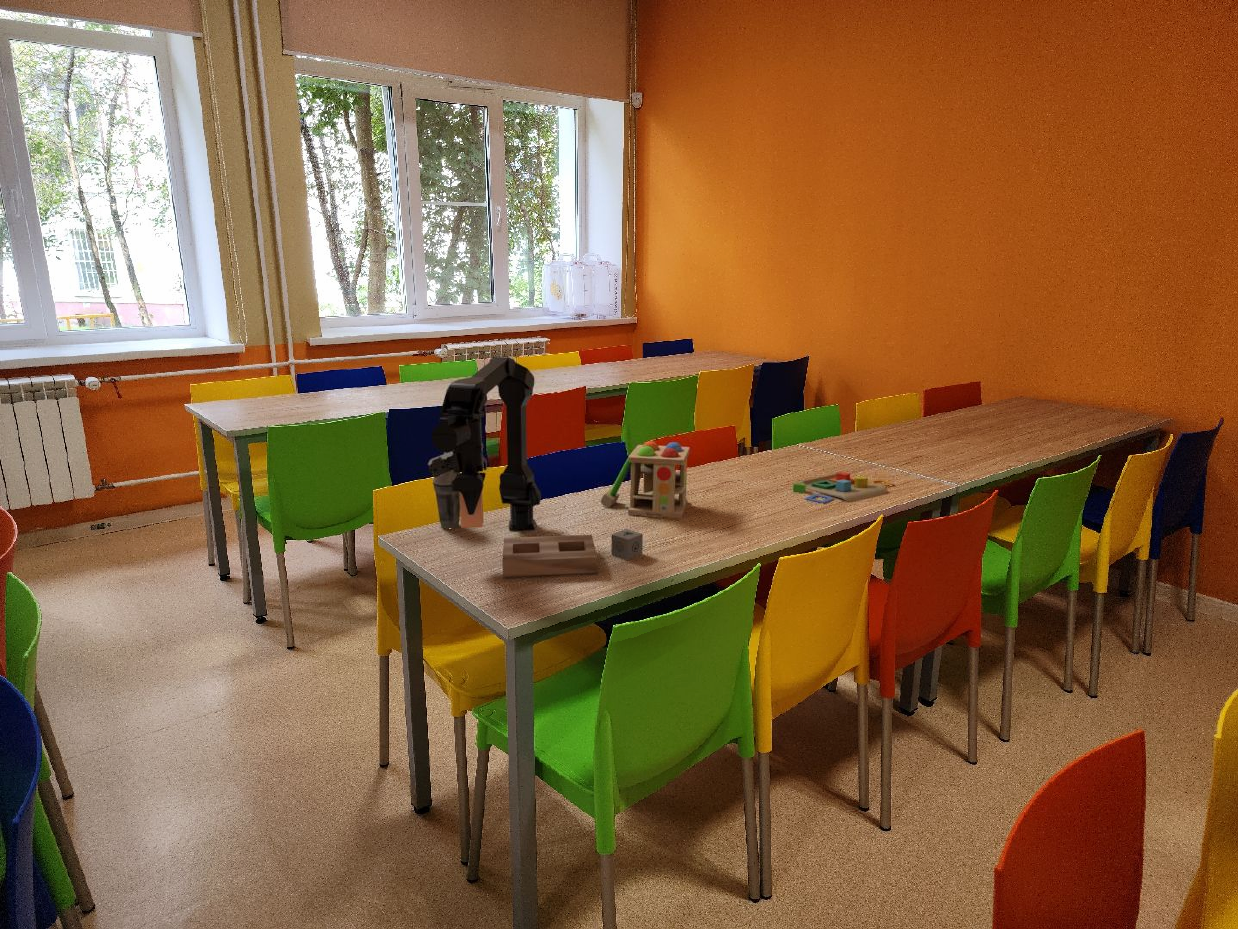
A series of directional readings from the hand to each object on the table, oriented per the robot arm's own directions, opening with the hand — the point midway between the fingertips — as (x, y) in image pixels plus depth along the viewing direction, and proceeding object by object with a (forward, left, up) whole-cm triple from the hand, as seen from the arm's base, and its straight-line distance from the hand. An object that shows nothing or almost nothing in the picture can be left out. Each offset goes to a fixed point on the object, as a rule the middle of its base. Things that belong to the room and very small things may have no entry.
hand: (471, 510), depth 173 cm
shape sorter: (-46, +103, -13) cm, 114 cm away
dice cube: (-2, +34, -13) cm, 37 cm away
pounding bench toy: (-36, +43, -13) cm, 57 cm away
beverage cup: (-26, -8, -13) cm, 30 cm away
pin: (0, 0, -3) cm, 3 cm away
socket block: (+2, +16, -12) cm, 21 cm away
